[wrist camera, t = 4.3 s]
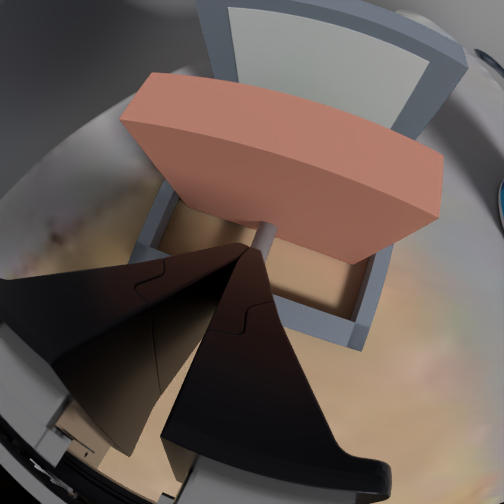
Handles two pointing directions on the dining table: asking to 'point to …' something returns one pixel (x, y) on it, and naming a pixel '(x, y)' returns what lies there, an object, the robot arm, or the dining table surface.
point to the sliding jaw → (286, 165)
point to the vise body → (325, 100)
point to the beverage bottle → (501, 202)
